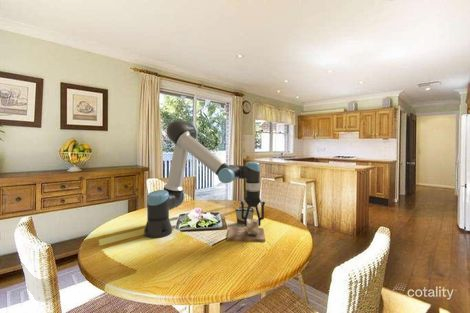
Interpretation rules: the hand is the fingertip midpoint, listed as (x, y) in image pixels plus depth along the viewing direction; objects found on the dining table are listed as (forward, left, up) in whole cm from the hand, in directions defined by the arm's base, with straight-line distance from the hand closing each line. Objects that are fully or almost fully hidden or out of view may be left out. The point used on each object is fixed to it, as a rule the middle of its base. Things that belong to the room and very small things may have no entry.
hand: (252, 231), depth 133 cm
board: (-3, 0, -2) cm, 4 cm away
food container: (-4, +20, -3) cm, 21 cm away
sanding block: (0, 0, 0) cm, 0 cm away
